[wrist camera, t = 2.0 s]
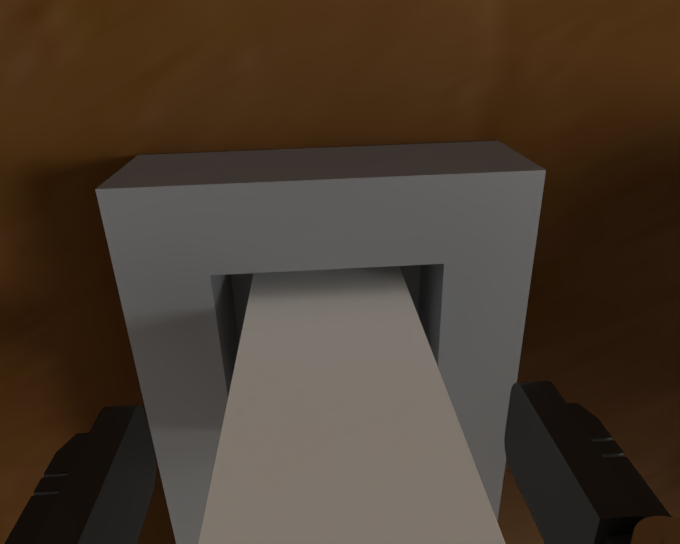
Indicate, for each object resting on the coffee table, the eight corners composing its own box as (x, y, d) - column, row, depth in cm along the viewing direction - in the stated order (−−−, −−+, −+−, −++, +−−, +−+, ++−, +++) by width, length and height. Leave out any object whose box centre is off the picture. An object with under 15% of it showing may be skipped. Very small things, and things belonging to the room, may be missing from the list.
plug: (394, 252, 16) (533, 615, 6) (392, 365, 17) (498, 789, 8) (256, 258, 16) (178, 642, 6) (268, 372, 17) (222, 814, 8)
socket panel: (498, 140, 15) (549, 172, 12) (448, 654, 25) (468, 744, 22) (138, 154, 15) (91, 191, 12) (234, 671, 25) (224, 765, 22)
